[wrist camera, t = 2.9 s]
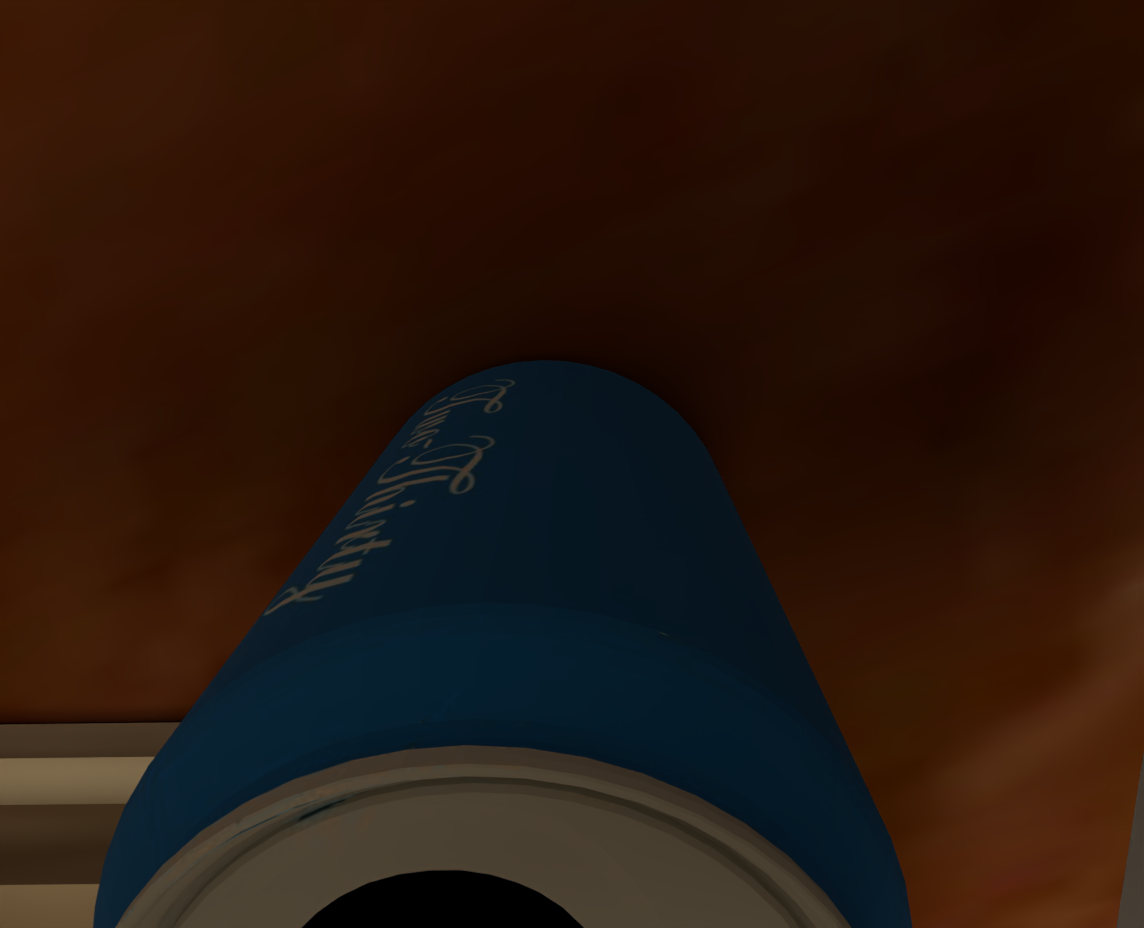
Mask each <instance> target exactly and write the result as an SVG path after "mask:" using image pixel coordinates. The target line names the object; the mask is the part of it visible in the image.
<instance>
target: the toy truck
mask: <svg viewBox="0 0 1144 928" xmlns="http://www.w3.org/2000/svg"><path fill="white" fill-rule="evenodd" d="M180 723H181V722H172V723H89V724H5V725H0V928H93V921H94V910H95V903H96V898H97V893H98V888H99V884H100V879H101V874H102V869H103V864H104V860H105V857H106V854H107V851H108V848H109V846H110V843H111V840H112V838H113V835H114V833H115V830H116V827H117V825H118V822H119V820H120V817H121V814H122V812H123V809H124V807H125V805H126V803H127V802H128V800H129V798H130V796H131V795H132V793H133V791H134V789H135V788H136V786H137V784H138V783H139V781H140V779H141V777H142V776H143V774H144V772H145V771H146V769H147V767H148V765H149V764H150V763H151V761H152V760H153V759H154V757H155V756H156V755H157V753H158V752H159V751H160V749H161V748H162V747H163V745H164V744H165V743H166V741H167V740H168V739H169V737H170V736H171V735H172V733H173V732H174V731H175V729H176V728H177V727H178V725H179V724H180Z"/></svg>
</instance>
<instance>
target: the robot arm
mask: <svg viewBox="0 0 1144 928" xmlns="http://www.w3.org/2000/svg"><path fill="white" fill-rule="evenodd" d="M1117 928H1144V754H1143V761H1142V767H1141V774H1140V780H1139V787H1138V793H1137V800H1136V806H1135V813H1134V819H1133V825H1132V832H1131V838H1130V845H1129V851H1128V858H1127V864H1126V871H1125V877H1124V883H1123V890H1122V896H1121V903H1120V909H1119V916H1118V922H1117Z"/></svg>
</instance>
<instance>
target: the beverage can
mask: <svg viewBox="0 0 1144 928" xmlns="http://www.w3.org/2000/svg"><path fill="white" fill-rule="evenodd" d="M93 928H912V922H911V916H910V909H909V903H908V897H907V890H906V884H905V880H904V877H903V874H902V871H901V868H900V865H899V862H898V858H897V855H896V852H895V849H894V846H893V843H892V840H891V837H890V835H889V833H888V831H887V829H886V827H885V824H884V822H883V820H882V818H881V816H880V814H879V812H878V810H877V808H876V805H875V803H874V801H873V799H872V797H871V795H870V793H869V791H868V788H867V786H866V784H865V782H864V780H863V778H862V776H861V774H860V771H859V769H858V767H857V765H856V763H855V761H854V759H853V757H852V754H851V752H850V750H849V748H848V746H847V744H846V742H845V740H844V737H843V735H842V733H841V731H840V729H839V727H838V725H837V723H836V721H835V718H834V716H833V714H832V712H831V710H830V708H829V706H828V704H827V701H826V699H825V697H824V695H823V693H822V691H821V689H820V687H819V684H818V682H817V680H816V678H815V676H814V674H813V672H812V670H811V667H810V665H809V663H808V661H807V659H806V657H805V655H804V653H803V650H802V648H801V646H800V644H799V642H798V640H797V638H796V636H795V633H794V631H793V629H792V627H791V625H790V623H789V621H788V619H787V617H786V614H785V612H784V610H783V608H782V606H781V604H780V602H779V600H778V597H777V595H776V593H775V591H774V589H773V587H772V585H771V583H770V580H769V578H768V576H767V574H766V572H765V570H764V568H763V566H762V563H761V561H760V559H759V557H758V555H757V553H756V551H755V549H754V546H753V544H752V542H751V540H750V538H749V536H748V534H747V532H746V529H745V527H744V525H743V523H742V521H741V519H740V517H739V515H738V513H737V510H736V508H735V506H734V504H733V502H732V500H731V498H730V496H729V493H728V491H727V489H726V487H725V485H724V483H723V481H722V479H721V476H720V474H719V472H718V470H717V468H716V466H715V464H714V462H713V460H712V458H711V456H710V454H709V452H708V450H707V449H706V447H705V446H704V444H703V443H702V441H701V440H700V438H699V437H698V436H697V434H696V433H695V431H694V430H693V429H692V428H691V427H690V425H689V424H688V423H687V422H686V421H685V420H684V419H683V418H682V417H681V416H680V415H679V413H678V412H677V411H675V410H674V409H673V408H672V407H671V406H669V405H668V404H667V403H666V402H665V401H663V400H662V399H661V398H660V397H659V396H657V395H655V394H654V393H652V392H651V391H649V390H647V389H646V388H644V387H643V386H641V385H640V384H638V383H636V382H634V381H632V380H629V379H627V378H625V377H623V376H621V375H618V374H616V373H614V372H610V371H607V370H604V369H601V368H597V367H594V366H591V365H585V364H579V363H574V362H568V361H548V360H538V361H527V362H516V363H511V364H507V365H502V366H498V367H493V368H490V369H487V370H484V371H482V372H479V373H476V374H474V375H471V376H468V377H466V378H464V379H462V380H461V381H459V382H457V383H455V384H453V385H451V386H449V387H447V388H446V389H444V390H443V391H441V392H440V393H439V394H437V395H436V396H434V397H433V398H432V399H430V400H429V401H427V402H426V403H425V404H424V405H423V406H422V407H421V408H420V409H419V410H418V411H417V412H416V413H414V414H413V415H412V416H411V417H410V418H409V419H408V421H407V422H406V423H405V424H404V426H403V427H402V428H401V429H400V431H399V432H398V433H397V434H396V436H395V437H394V438H393V439H392V441H391V442H390V443H389V445H388V446H387V447H386V449H385V450H384V451H383V453H382V454H381V455H380V457H379V458H378V459H377V461H376V462H375V463H374V465H373V466H372V467H371V469H370V470H369V471H368V473H367V474H366V476H365V477H364V478H363V480H362V481H361V482H360V484H359V485H358V486H357V488H356V489H355V490H354V492H353V493H352V494H351V496H350V497H349V498H348V500H347V501H346V502H345V504H344V505H343V506H342V508H341V509H340V510H339V512H338V513H337V514H336V516H335V517H334V518H333V520H332V521H331V522H330V524H329V525H328V526H327V528H326V529H325V530H324V532H323V533H322V534H321V536H320V537H319V538H318V540H317V541H316V542H315V544H314V545H313V546H312V548H311V549H310V550H309V552H308V553H307V554H306V556H305V557H304V558H303V560H302V561H301V562H300V564H299V565H298V566H297V568H296V569H295V570H294V572H293V573H292V574H291V576H290V577H289V578H288V580H287V581H286V582H285V584H284V585H283V586H282V588H281V589H280V590H279V592H278V593H277V594H276V596H275V597H274V598H273V600H272V601H271V602H270V604H269V605H268V606H267V608H266V609H265V610H264V612H263V613H262V614H261V616H260V617H259V618H258V620H257V621H256V622H255V624H254V625H253V626H252V628H251V629H250V631H249V632H248V633H247V635H246V636H245V637H244V639H243V640H242V641H241V643H240V644H239V645H238V647H237V648H236V649H235V651H234V652H233V653H232V655H231V656H230V657H229V659H228V660H227V661H226V663H225V664H224V665H223V667H222V668H221V669H220V671H219V672H218V673H217V675H216V676H215V677H214V679H213V680H212V681H211V683H210V684H209V685H208V687H207V688H206V689H205V691H204V692H203V693H202V695H201V696H200V697H199V699H198V700H197V701H196V703H195V704H194V705H193V707H192V708H191V709H190V711H189V712H188V713H187V715H186V716H185V717H184V719H183V720H182V721H181V723H180V724H179V725H178V727H177V728H176V729H175V731H174V732H173V733H172V735H171V736H170V737H169V739H168V740H167V741H166V743H165V744H164V745H163V747H162V748H161V749H160V751H159V752H158V753H157V755H156V756H155V757H154V759H153V760H152V761H151V763H150V764H149V765H148V767H147V769H146V771H145V772H144V774H143V776H142V777H141V779H140V781H139V783H138V784H137V786H136V788H135V789H134V791H133V793H132V795H131V796H130V798H129V800H128V802H127V803H126V805H125V807H124V809H123V812H122V814H121V817H120V820H119V822H118V825H117V827H116V830H115V833H114V835H113V838H112V840H111V843H110V846H109V848H108V851H107V854H106V857H105V860H104V864H103V869H102V874H101V879H100V884H99V888H98V893H97V898H96V903H95V910H94V921H93Z"/></svg>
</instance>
